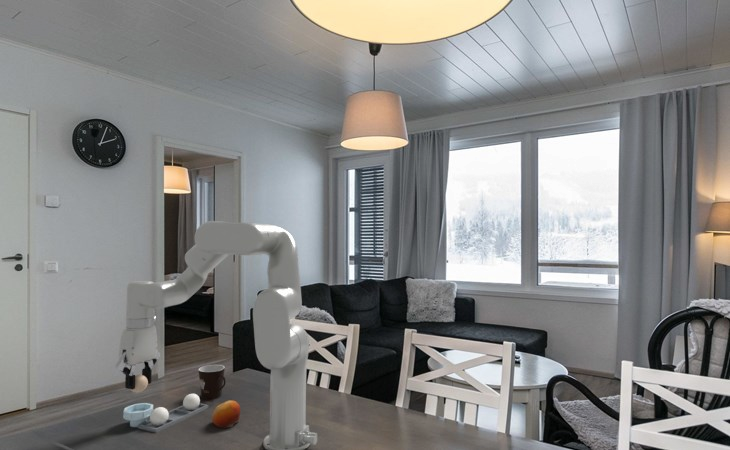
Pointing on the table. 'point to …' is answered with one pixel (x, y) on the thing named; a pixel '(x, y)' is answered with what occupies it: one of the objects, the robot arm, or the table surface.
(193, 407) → the white egg
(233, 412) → the fruit
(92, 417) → the table surface
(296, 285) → the robot arm
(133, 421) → the egg cup
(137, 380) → the egg brown
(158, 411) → the white egg
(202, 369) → the coffee mug
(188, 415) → the egg tray
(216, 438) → the table surface
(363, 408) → the table surface
